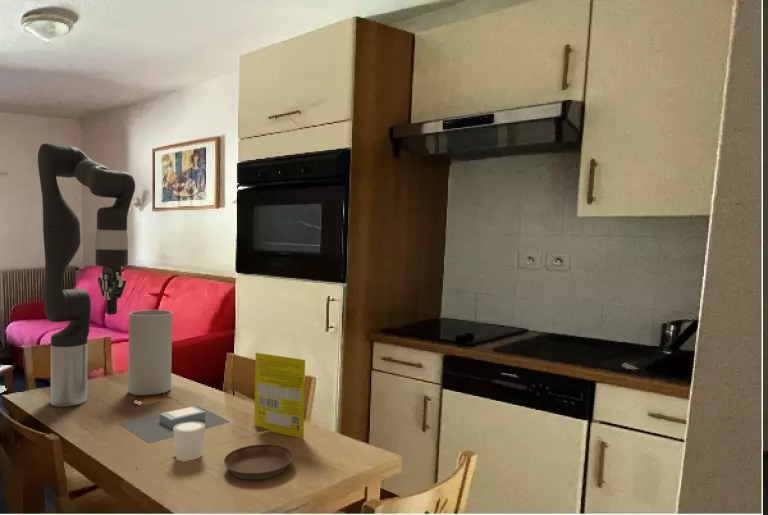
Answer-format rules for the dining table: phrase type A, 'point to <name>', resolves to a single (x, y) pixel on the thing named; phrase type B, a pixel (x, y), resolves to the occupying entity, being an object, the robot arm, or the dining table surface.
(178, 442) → the white tapered cup
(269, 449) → the saucer
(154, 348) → the cylinder vase
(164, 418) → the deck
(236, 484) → the dining table surface
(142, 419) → the mat
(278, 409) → the food package
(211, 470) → the dining table surface
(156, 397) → the parchment
